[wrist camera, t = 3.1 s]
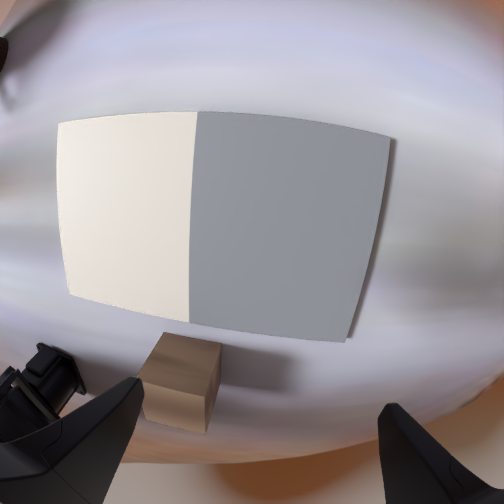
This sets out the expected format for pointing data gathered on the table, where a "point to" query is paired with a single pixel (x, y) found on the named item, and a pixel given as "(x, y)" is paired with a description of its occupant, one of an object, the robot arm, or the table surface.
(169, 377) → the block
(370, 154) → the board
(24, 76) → the table surface
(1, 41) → the coffee mug
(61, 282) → the table surface
